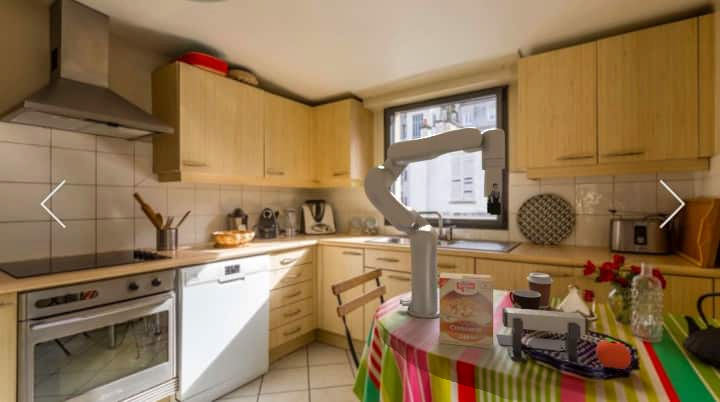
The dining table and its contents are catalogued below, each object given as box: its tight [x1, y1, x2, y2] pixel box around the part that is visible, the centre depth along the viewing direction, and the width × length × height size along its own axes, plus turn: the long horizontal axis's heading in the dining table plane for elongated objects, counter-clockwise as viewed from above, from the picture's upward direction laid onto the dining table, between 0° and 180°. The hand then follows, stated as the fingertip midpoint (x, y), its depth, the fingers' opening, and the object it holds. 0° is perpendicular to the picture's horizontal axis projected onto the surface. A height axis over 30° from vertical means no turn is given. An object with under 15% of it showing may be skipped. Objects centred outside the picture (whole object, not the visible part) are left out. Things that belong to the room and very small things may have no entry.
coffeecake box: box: [438, 272, 494, 350], centre depth 97 cm, size 15×7×20 cm, turn 75°
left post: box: [506, 320, 527, 362], centre depth 88 cm, size 4×7×10 cm, turn 164°
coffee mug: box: [509, 289, 541, 310], centre depth 112 cm, size 12×9×10 cm
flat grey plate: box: [496, 333, 580, 354], centre depth 95 cm, size 20×7×1 cm, turn 74°
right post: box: [559, 325, 584, 365], centre depth 85 cm, size 4×7×10 cm, turn 164°
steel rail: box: [501, 307, 589, 336], centre depth 86 cm, size 19×4×4 cm, turn 74°
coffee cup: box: [526, 272, 554, 309], centre depth 128 cm, size 9×9×12 cm
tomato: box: [595, 337, 632, 370], centre depth 82 cm, size 8×7×7 cm
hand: (493, 214), depth 114 cm, fingers open, 9 cm apart
